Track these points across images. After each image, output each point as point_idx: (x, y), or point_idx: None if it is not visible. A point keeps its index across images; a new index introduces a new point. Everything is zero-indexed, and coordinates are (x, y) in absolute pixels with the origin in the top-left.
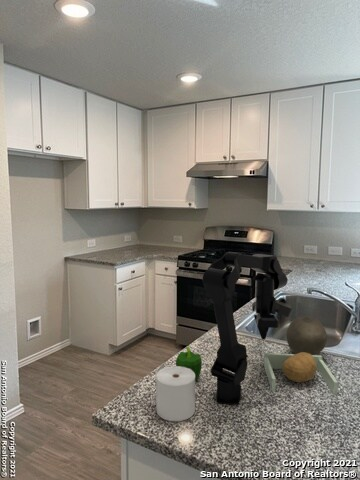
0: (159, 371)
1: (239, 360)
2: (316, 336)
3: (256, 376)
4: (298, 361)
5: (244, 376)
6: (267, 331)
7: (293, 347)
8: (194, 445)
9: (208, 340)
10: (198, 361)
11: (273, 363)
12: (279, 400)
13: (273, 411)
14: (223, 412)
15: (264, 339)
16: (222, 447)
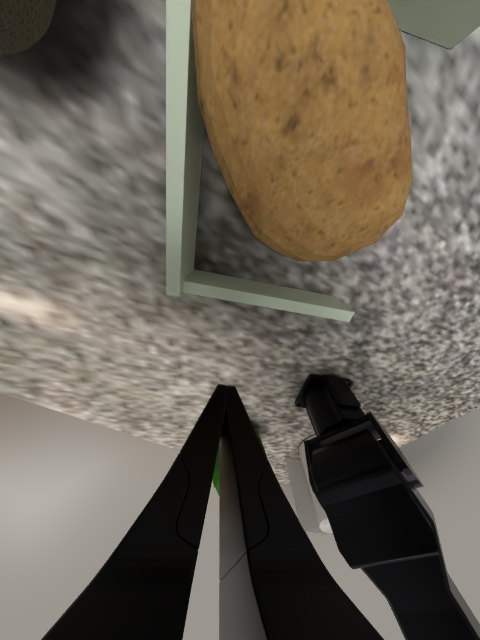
0: (330, 532)
1: (419, 494)
2: None
3: (244, 318)
4: (392, 190)
5: (376, 420)
6: (266, 456)
7: (15, 32)
8: (406, 435)
9: (22, 385)
10: None
11: (190, 251)
12: (372, 299)
13: (402, 327)
14: (359, 402)
15: (234, 388)
16: (431, 413)
